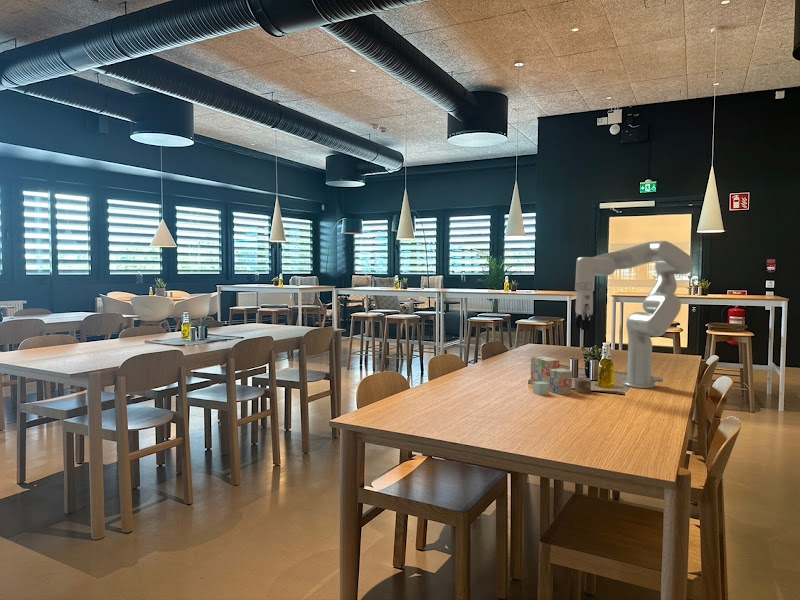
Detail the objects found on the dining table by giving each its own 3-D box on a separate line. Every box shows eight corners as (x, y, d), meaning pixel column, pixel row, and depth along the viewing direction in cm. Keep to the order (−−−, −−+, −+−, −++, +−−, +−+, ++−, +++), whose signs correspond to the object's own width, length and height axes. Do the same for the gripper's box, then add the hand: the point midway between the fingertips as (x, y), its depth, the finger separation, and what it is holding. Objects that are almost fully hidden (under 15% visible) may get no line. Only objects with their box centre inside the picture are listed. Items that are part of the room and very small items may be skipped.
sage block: (542, 392, 228) (542, 381, 228) (548, 394, 224) (548, 383, 224) (532, 393, 227) (532, 382, 227) (538, 395, 223) (539, 384, 222)
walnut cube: (586, 390, 232) (587, 378, 232) (590, 393, 227) (590, 381, 227) (574, 390, 233) (574, 378, 232) (578, 393, 228) (578, 380, 227)
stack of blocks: (571, 394, 226) (572, 363, 225) (558, 395, 224) (559, 364, 223) (542, 383, 246) (543, 355, 246) (530, 384, 244) (530, 356, 244)
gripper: (600, 288, 223) (597, 331, 223) (588, 287, 240) (585, 327, 241) (580, 287, 223) (578, 330, 224) (570, 286, 240) (567, 326, 241)
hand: (582, 328), depth 232 cm, fingers open, 9 cm apart
